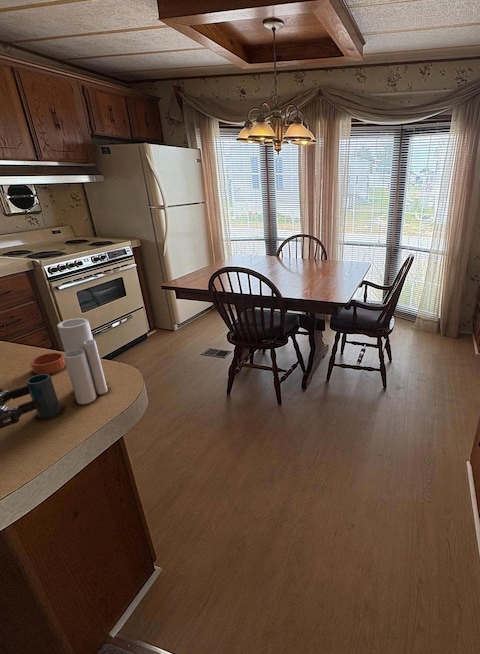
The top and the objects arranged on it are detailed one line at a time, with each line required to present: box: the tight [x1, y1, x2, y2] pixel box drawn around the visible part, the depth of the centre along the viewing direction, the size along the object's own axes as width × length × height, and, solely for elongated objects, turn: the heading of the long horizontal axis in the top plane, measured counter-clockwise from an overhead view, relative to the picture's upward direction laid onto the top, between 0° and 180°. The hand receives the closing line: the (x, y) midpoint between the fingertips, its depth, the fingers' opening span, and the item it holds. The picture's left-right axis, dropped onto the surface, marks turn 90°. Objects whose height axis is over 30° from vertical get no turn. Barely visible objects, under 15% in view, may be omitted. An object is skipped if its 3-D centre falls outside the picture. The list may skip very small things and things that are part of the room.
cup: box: [25, 374, 61, 419], centre depth 84 cm, size 5×5×10 cm
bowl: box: [29, 352, 66, 375], centre depth 105 cm, size 8×8×4 cm
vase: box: [56, 317, 108, 405], centre depth 91 cm, size 11×7×20 cm, turn 36°
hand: (34, 395), depth 83 cm, fingers open, 8 cm apart
